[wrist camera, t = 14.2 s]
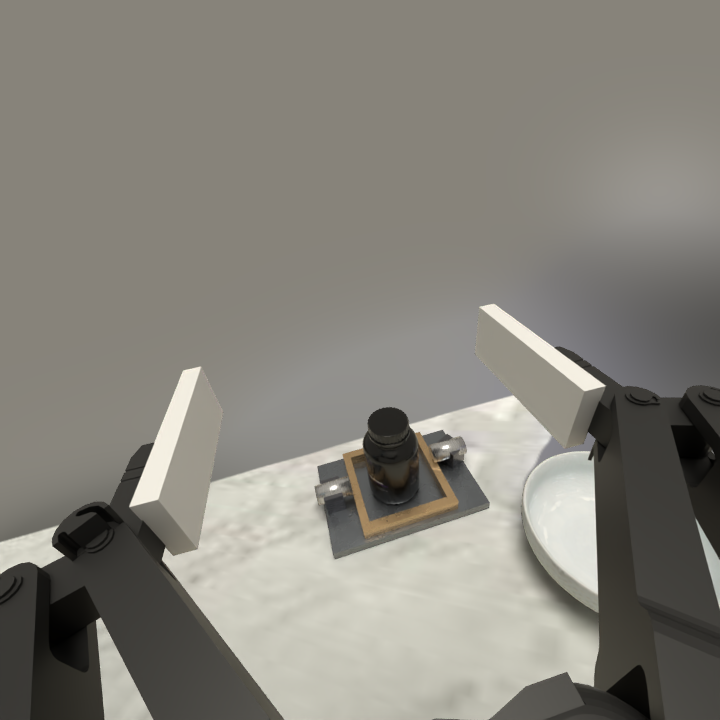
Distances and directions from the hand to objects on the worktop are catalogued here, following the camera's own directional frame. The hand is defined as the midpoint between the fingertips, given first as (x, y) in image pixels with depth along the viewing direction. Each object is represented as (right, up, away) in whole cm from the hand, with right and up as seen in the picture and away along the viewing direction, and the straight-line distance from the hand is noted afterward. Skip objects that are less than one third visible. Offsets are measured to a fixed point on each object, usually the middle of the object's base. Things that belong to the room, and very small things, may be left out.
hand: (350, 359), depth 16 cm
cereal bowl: (+27, -21, +21) cm, 40 cm away
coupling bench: (+5, -18, +30) cm, 35 cm away
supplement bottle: (+5, -17, +30) cm, 34 cm away
